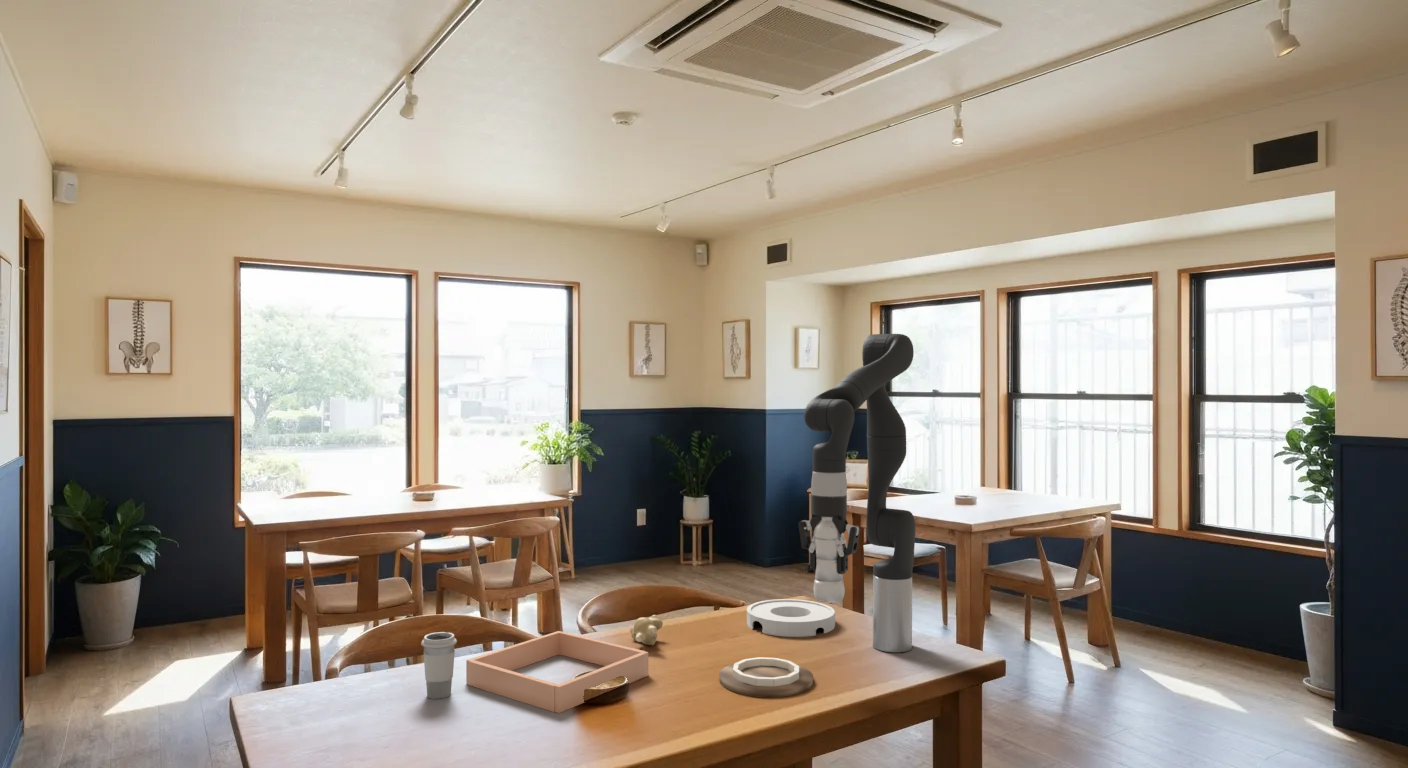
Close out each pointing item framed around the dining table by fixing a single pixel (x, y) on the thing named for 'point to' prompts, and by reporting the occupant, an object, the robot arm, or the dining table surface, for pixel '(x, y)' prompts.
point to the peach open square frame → (500, 679)
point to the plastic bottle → (827, 563)
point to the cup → (439, 663)
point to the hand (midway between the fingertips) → (828, 571)
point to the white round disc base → (791, 617)
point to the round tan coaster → (766, 691)
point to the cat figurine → (646, 629)
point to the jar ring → (766, 680)
